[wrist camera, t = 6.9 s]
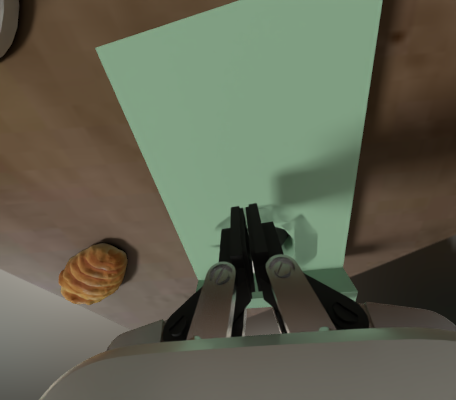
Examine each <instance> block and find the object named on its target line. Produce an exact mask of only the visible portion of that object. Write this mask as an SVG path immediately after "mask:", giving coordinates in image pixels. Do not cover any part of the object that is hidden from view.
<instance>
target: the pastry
mask: <svg viewBox="0 0 456 400" xmlns="http://www.w3.org/2000/svg"><path fill="white" fill-rule="evenodd" d="M127 261H128V260H127V257H126V253H125V252H123V251H121V250H119V249H117V248H115V247H114V246H111V245H108V244H105V243H101V244H97V245H92V246H91V247H89V248H88V249H85V250H82V251H81V252H79V253H78V254H77V255H75V256H73V257H71V258H70V259H69V261H68V263H67V265H66V267H65V269H64V270H63V271H61V273H60V275H59V284H60V285H61V286H62V287H61V293H62V295H63V296H64V297H65V298H66V300H68V301H70V302H72V303H74V304H87V305H91V304H93V303H97V302H100V301H101V300H102V299H104V298H106V297H107V296H109V295H111V294H113V293H114V292H115V291H116V290H117V289H118V288H119V286H120V284H121V283H122V281H123V278H124V274H125V270H126V266H127Z"/></svg>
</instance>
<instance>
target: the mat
mask: <svg viewBox="0 0 456 400" xmlns="http://www.w3.org/2000/svg"><path fill="white" fill-rule="evenodd" d="M382 1H383V0H239V1H236V2H233V3H230V4H227V5H224V6H221V7H218V8H215V9H212V10H209V11H206V12H203V13H200V14H197V15H194V16H191V17H188V18H185V19H182V20H179V21H176V22H173V23H170V24H167V25H164V26H161V27H158V28H155V29H152V30H148V31H145V32H142V33H139V34H136V35H133V36H130V37H127V38H124V39H121V40H118V41H115V42H112V43H109V44H106V45H103V46H100V47H97V48H95V49H96V51H97V53H98V55H99V58H100V60H101V62H102V64H103V67H104V69H105V71H106V73H107V76H108V78H109V80H110V82H111V85H112V87H113V89H114V91H115V94H116V96H117V98H118V100H119V103H120V105H121V107H122V109H123V112H124V114H125V116H126V118H127V121H128V123H129V125H130V127H131V130H132V132H133V134H134V136H135V139H136V141H137V143H138V145H139V148H140V150H141V152H142V154H143V157H144V159H145V161H146V163H147V166H148V168H149V170H150V172H151V175H152V177H153V179H154V181H155V184H156V186H157V188H158V190H159V193H160V195H161V197H162V199H163V202H164V204H165V206H166V208H167V211H168V213H169V215H170V217H171V220H172V222H173V224H174V226H175V229H176V231H177V233H178V235H179V237H180V240H181V242H182V244H183V246H184V249H185V251H186V253H187V255H188V258H189V260H190V262H191V264H192V267H193V269H194V271H195V273H196V276H197V278H198V280H199V281H198V285H197V289H196V292H197V291H198V290H199V289H200V288H201V287H202V286H203V284H204V280H205V277H206V274H207V272H208V270H209V269H210V267H211V266H213V265H214V264H216V263H218V262H219V252H220V240H221V230H222V229H225V228H230V217H231V207H235V206H239V207H240V208H243V211H244V215H245V220H246V225H247V217H246V208H245V207H249V205H248V204H254V203H257V206H258V210H259V215H260V219H261V223H265V222H272V221H273V223H274V226H275V229H276V232H277V235H278V238H279V241H280V244H281V247H282V250H283V253H284V255H287V256H290V257H292V258H293V259H294V260H295V261H296V262H297V263H298V265H299V267H300V268H301V270H302V272H303V273H305V274H307V275H308V276H310V277H312V278H314V279H316V280H318V281H319V282H321V283H323V284H325V285H327V286H329V287H330V288H332V289H334V290H336V291H338V292H340V293H341V294H343V295H345V296H347V297H349V298H351V299H352V300H354V301H356V297H357V292H358V291H357V290H356V288H355V286H354V285H353V283H352V281H351V280H350V278H349V277H348V275H347V273H346V272H345V270H344V269H343V263H344V256H345V249H346V243H347V236H348V229H349V222H350V216H351V209H352V202H353V196H354V189H355V182H356V176H357V169H358V162H359V156H360V149H361V142H362V135H363V129H364V122H365V115H366V109H367V102H368V95H369V89H370V82H371V75H372V68H373V62H374V55H375V48H376V42H377V35H378V28H379V22H380V15H381V8H382ZM247 230H248V225H247ZM287 234H288V235H289V236H288V237H287ZM286 238H287V239H286ZM253 274H254V283H255V292H252V299H251V302H250V303H249V304H248V306H247V307H246V308H259V307H272V306H271V305H270V304H268V303H267V302H266V301H265V300H264V298H263V293H262V291H261V292H259V291H258V286H257V281H256V277H255V273H253Z"/></svg>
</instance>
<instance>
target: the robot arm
mask: <svg viewBox="0 0 456 400" xmlns="http://www.w3.org/2000/svg"><path fill="white" fill-rule="evenodd" d="M18 15H19V0H0V58H1V57H2V56H3V55H4V54H5V53H6V51H7V50H8V49H9V47H10V46H11V44H12V42H13V39H14V36H15V33H16V30H17V26H18ZM248 205H249V207H245V208H246V217H247V225H248V230H247V225H246V220H245V215H244V211H243V208H240V207H239V206H235V207H231V217H230V228H225V229H222V230H221V240H220V252H219V262H218V263H216V264H214V265H213V266H211V267H210V269H209V270H208V272H207V274H206V277H205V280H204V284H203V286H202V287H201V288H200V289H199V290H198V291H197V292H196V293H195V294H194V295H192V296H191V297H190V298H189V299H188V300H187V301H186V302H185V303H184V304H183V305H182V306H181V307H180V308H179V309H178V310H176V311H175V312H174V313H173V314H172V315H171V316H170V318H169V319H168V320H166V321H163V319H162V320H159V321H156V322H154V323H151V324H148V325H145V326H142V327H139V328H136V329H133V330H131V331H128V332H125V333H123V334H121V335H119V336H118V337H116V338H115V339H114V340H113V341H112V343H111V344H110V345H109V347H108V349H107V351H105V352H103V353H100V354H98V355H95V356H93V357H91V358H89V359H88V360H85V361H83V362H82V363H80V364H78V365H76V366H75V367H74V368H72V369H70V370H69V371H67V372H66V373H65V374H64V375H62V376H61V377H60V378H59V379H58V380H56V381H55V382H54V383H53V384H52V385H51V386H50V387H49V389H48V390H47V391H46V392H45V393H44V394H43V396H42V397H41V398H40V399H39V400H456V326H455V325H454V324H453V323H451V322H450V321H448V320H447V319H446V318H444V317H443V316H441V315H439V314H437V313H435V312H432V311H428V310H424V309H417V308H409V307H401V306H393V305H386V304H378V303H370V302H365V304H359V303H357V302H355V301H354V300H352V299H351V298H349V297H347V296H345V295H343V294H341V293H340V292H338V291H336V290H334V289H332V288H330V287H329V286H327V285H325V284H323V283H321V282H319V281H318V280H316V279H314V278H312V277H310V276H308V275H307V274H305V273H303V272H302V270H301V268H300V267H299V265H298V263H297V262H296V261H295V260H294V259H293V258H292V257H290V256H287V255H284V253H283V250H282V247H281V244H280V241H279V238H278V235H277V232H276V229H275V226H274V223H273V221H272V222H265V223H261V219H260V215H259V210H258V206H257V203H254V204H248ZM248 234H249V235H248ZM252 262H253V265H252ZM253 267H254V272H255V277H256V281H257V286H258V291H259V292H261V291H262V293H263V298H264V300H265V301H266V302H267V303H268V304H270V305H271V306H272V309H273V312H274V315H275V318H276V321H277V324H278V327H279V330H280V333H281V334H271V335H257V336H245V325H246V312H247V310H246V307H247V306H248V304H249V303H250V302H251V299H252V292H255V283H254V274H253Z"/></svg>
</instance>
